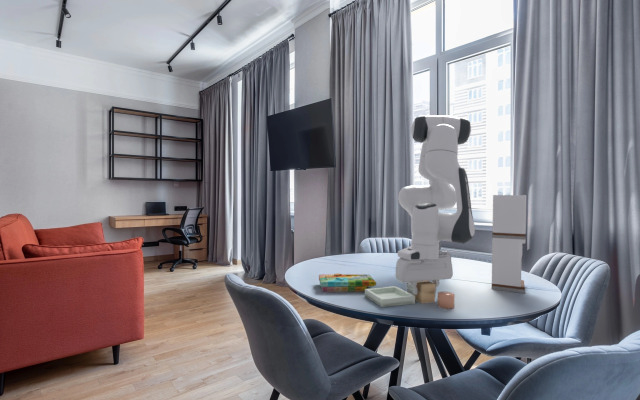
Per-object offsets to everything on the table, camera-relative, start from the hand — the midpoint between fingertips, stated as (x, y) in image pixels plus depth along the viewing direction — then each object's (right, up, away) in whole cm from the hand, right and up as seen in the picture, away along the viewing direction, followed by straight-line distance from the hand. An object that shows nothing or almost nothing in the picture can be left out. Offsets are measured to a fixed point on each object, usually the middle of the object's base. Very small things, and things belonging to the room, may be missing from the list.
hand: (424, 293), depth 115 cm
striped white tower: (+37, -2, +17) cm, 40 cm away
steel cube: (-1, -2, +7) cm, 8 cm away
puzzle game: (-25, -2, +15) cm, 29 cm away
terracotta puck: (+5, -3, -5) cm, 8 cm away
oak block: (0, -2, 0) cm, 2 cm away
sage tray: (-12, -2, +1) cm, 12 cm away
